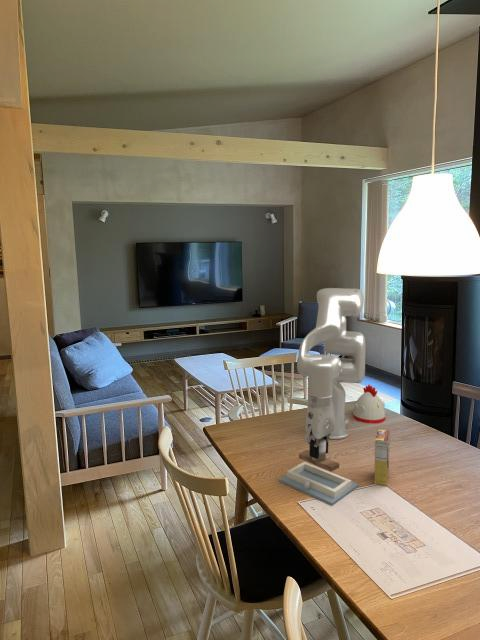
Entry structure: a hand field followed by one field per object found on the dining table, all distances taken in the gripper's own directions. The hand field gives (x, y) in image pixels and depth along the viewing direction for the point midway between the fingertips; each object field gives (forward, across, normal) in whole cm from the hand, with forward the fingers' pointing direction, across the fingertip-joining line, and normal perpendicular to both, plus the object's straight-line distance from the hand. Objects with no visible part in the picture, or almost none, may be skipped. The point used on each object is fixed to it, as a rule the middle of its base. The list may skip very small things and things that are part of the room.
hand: (318, 454), depth 145 cm
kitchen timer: (+10, +63, +17) cm, 66 cm away
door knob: (+3, 0, 0) cm, 3 cm away
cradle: (+10, 0, 0) cm, 10 cm away
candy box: (+10, +17, -13) cm, 24 cm away
